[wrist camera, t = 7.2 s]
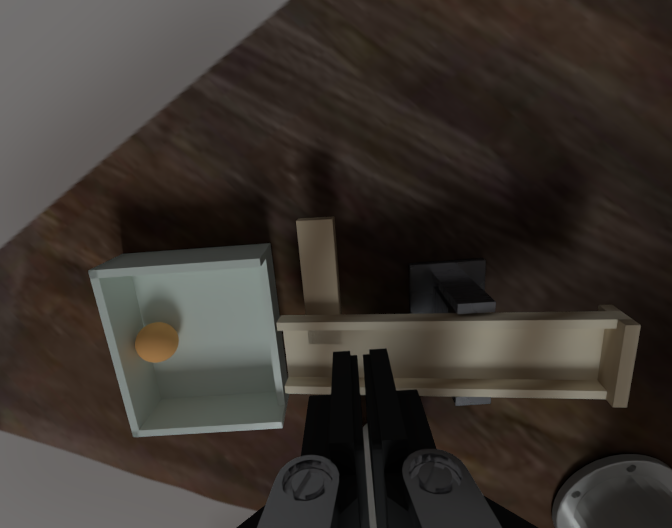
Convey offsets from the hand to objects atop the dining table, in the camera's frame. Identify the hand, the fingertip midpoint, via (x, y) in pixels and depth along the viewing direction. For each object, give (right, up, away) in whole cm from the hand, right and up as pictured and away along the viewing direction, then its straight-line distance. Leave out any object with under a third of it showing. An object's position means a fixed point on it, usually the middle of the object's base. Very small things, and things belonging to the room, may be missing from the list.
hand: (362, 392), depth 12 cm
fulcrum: (+8, 0, +21) cm, 22 cm away
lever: (+6, +1, +15) cm, 16 cm away
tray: (-12, -1, +21) cm, 24 cm away
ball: (-15, -2, +19) cm, 24 cm away
